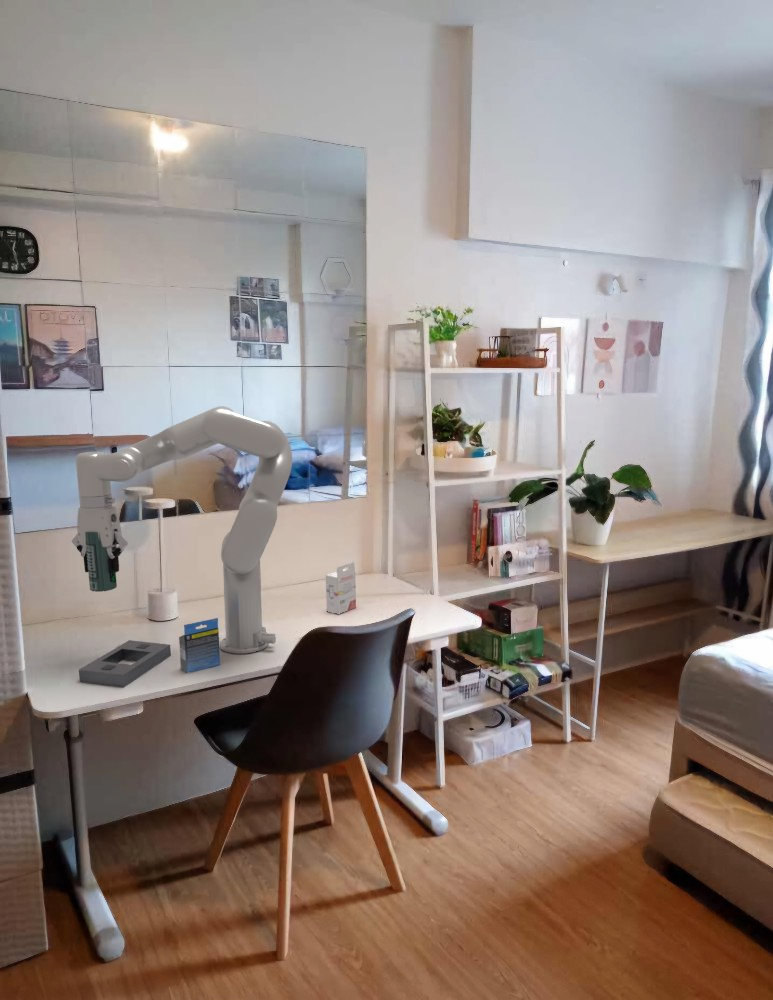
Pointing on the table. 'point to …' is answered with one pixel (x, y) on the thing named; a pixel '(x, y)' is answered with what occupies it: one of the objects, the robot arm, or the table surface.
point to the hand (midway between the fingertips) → (102, 571)
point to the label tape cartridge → (199, 646)
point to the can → (98, 564)
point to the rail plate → (119, 674)
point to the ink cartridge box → (341, 589)
